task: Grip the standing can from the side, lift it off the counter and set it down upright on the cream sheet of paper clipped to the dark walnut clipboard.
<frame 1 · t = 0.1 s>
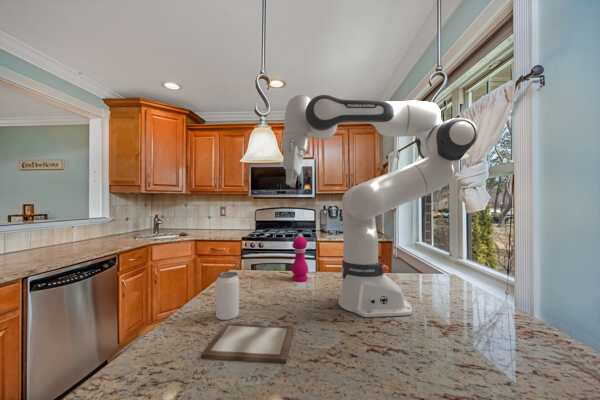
hand: (290, 185, 84), 39 cm above the countertop, tool pointing down, fingers open, 8 cm apart
clipboard: (252, 342, 59), on the countertop
can: (227, 316, 72), on the countertop
pepper mill: (299, 280, 108), on the countertop
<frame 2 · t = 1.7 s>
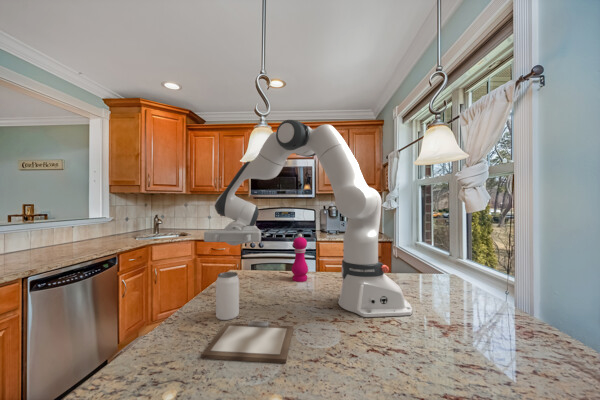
hand: (231, 238, 85), 21 cm above the countertop, tool horizontal, fingers open, 8 cm apart
nothing on the countertop moved.
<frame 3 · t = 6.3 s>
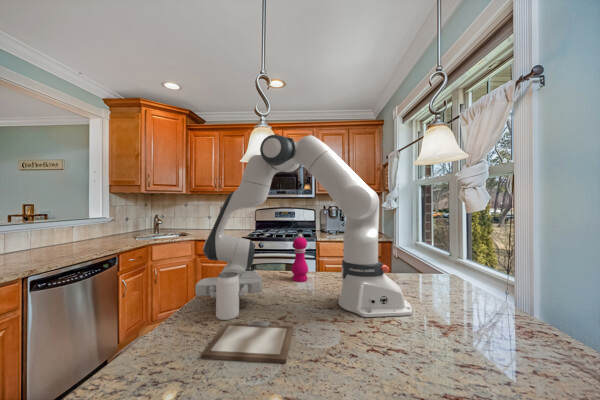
hand: (227, 294, 72), 7 cm above the countertop, tool horizontal, fingers closed on can, 6 cm apart
can: (227, 316, 72), on the countertop, touching gripper
everything else where it was.
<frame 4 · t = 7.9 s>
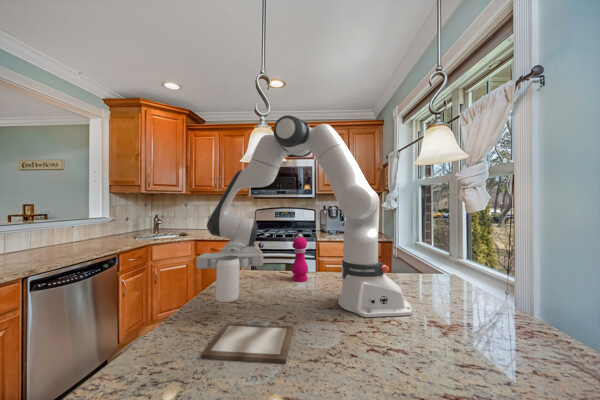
hand: (228, 265, 72), 15 cm above the countertop, tool horizontal, fingers closed on can, 6 cm apart
can: (227, 299, 72), point 5 cm above the countertop, touching gripper
everything else where it was.
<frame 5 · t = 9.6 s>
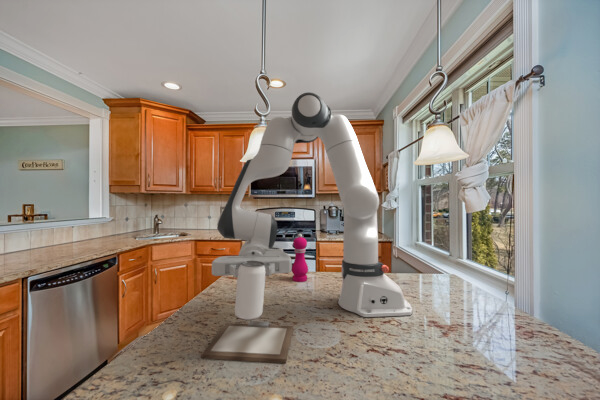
hand: (252, 272, 58), 16 cm above the countertop, tool horizontal, fingers closed on can, 6 cm apart
can: (248, 314, 59), point 6 cm above the countertop, touching gripper
everything else where it was.
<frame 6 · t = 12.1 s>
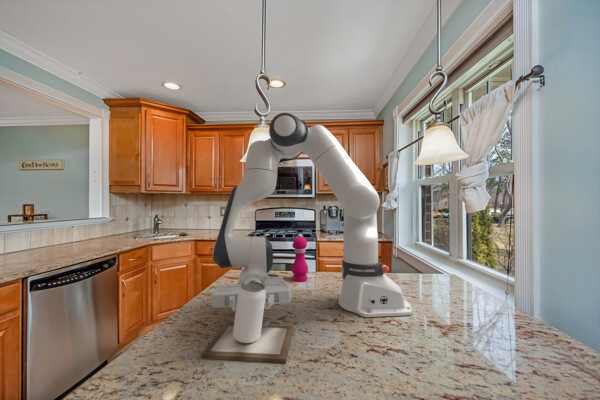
hand: (251, 306, 58), 9 cm above the countertop, tool horizontal, fingers closed on can, 6 cm apart
can: (246, 336, 59), point 1 cm above the countertop, touching clipboard, gripper
everything else where it was.
when the fingers open (9 cm above the countertop, at t = 12.2 s): can stays where it is, resting on clipboard.
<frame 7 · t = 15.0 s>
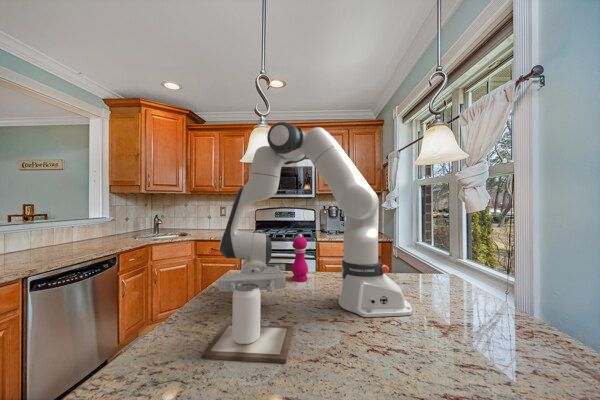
hand: (252, 289, 70), 9 cm above the countertop, tool horizontal, fingers open, 8 cm apart
can: (246, 338, 59), point 1 cm above the countertop, touching clipboard
everything else where it was.
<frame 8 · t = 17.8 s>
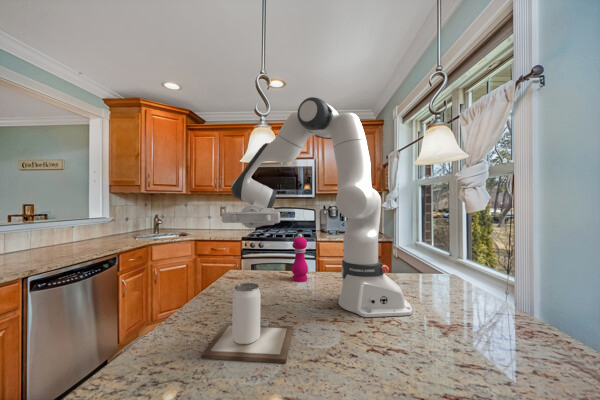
hand: (251, 218, 82), 28 cm above the countertop, tool horizontal, fingers open, 8 cm apart
nothing on the countertop moved.
at the end: can inside the target area on the clipboard (1.4 cm from its centre), point 0.8 cm above the clipboard's base; can tilted 0°; the gripper is holding nothing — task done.
